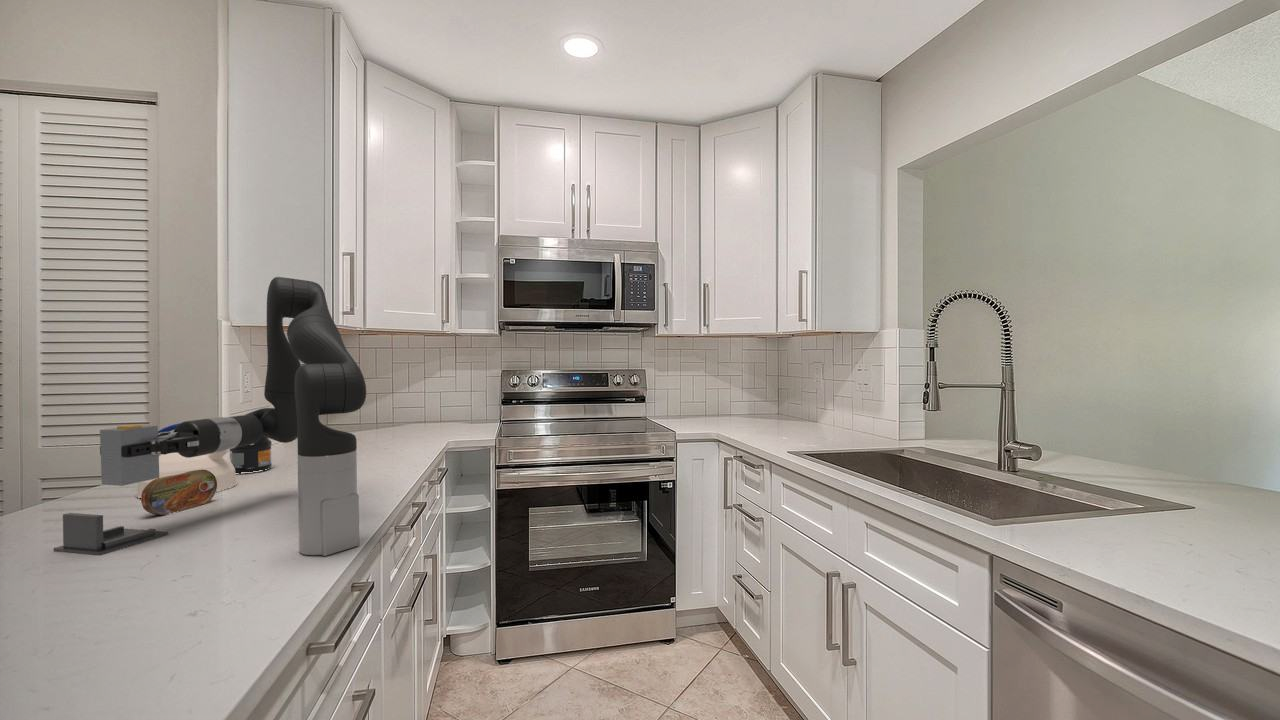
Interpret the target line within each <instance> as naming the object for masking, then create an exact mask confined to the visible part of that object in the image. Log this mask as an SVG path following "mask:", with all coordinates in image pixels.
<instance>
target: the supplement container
mask: <svg viewBox="0 0 1280 720" xmlns="http://www.w3.org/2000/svg"><path fill="white" fill-rule="evenodd" d="M271 440H272V439H270V438H267V437H264V436H262V437H261V439H260V440H259V441H258V442H256V443H254V444H251V445H247V446H242V447H237V448H232V449H230V451H229V460H230V461H231V463H232V464H233V466H234V468H235V473H241V472H253V471H259V470H265V469H268V468H270V469H272V467H273V465H272V443H273V442H272V441H271ZM268 470H269V469H268Z"/></svg>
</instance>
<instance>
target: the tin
mask: <svg viewBox="0 0 1280 720" xmlns="http://www.w3.org/2000/svg"><path fill="white" fill-rule="evenodd" d="M216 489H217V480H216V478H215V476H214V475H213V474H212V473H211V472H210V471H207V470H193V471H188V472H184V473H179V474H175V475H171V476H166V477H161V478H157V479H155V480H153V481H151V482H150V483H149V484H148V485H147V486H146V487H145V488H144V490H143V492H142V496H141V499H140V501H141V505H142V508H143V510H144V511H146V512H147V513H149V514H151V515H161V516H167V515H166V514H168V515H170V514H169V513H172V514H174V513H173V512H176V513H178V512H177V511H179V512H181V511H180V510H183V509H186V510H188V509H187V508H190V507H193V508H195V507H194V506H197V505H200V506H202V505H201V504H203V505H206V504H207V503H208V502H210V501H211V500H212V499H213V498H214V496H215V494H216V493H217V492H216ZM215 492H216V493H215ZM197 507H198V506H197ZM190 509H191V508H190ZM183 511H184V510H183Z"/></svg>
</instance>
